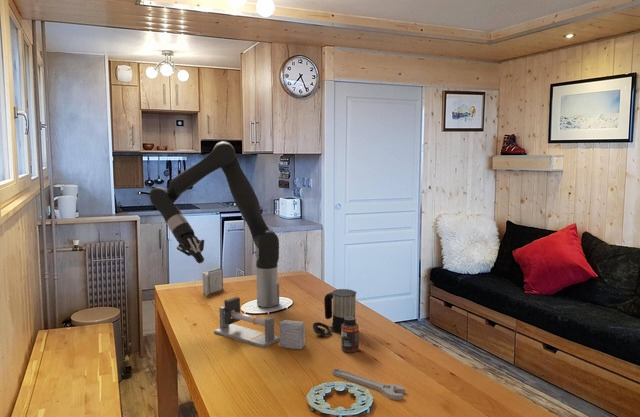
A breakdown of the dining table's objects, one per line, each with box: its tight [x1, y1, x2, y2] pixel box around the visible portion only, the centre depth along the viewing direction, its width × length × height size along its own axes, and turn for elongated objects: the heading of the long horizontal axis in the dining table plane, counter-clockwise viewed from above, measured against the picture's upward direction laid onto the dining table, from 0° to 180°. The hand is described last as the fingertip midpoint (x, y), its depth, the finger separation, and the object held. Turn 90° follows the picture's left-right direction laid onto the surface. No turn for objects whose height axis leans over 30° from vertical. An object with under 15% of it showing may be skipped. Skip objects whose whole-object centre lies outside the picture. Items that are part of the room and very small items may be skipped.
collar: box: [224, 296, 241, 325], centre depth 192 cm, size 2×6×9 cm, turn 144°
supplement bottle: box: [340, 316, 360, 353], centre depth 175 cm, size 6×6×11 cm
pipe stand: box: [213, 305, 280, 349], centre depth 188 cm, size 25×9×9 cm, turn 54°
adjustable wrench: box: [331, 368, 406, 401], centre depth 151 cm, size 25×6×2 cm, turn 46°
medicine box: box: [279, 319, 306, 351], centre depth 178 cm, size 8×4×9 cm, turn 71°
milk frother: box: [312, 288, 357, 337], centre depth 192 cm, size 14×16×15 cm
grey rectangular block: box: [201, 268, 224, 297], centre depth 246 cm, size 14×5×10 cm, turn 154°
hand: (201, 262), depth 199 cm, fingers closed
